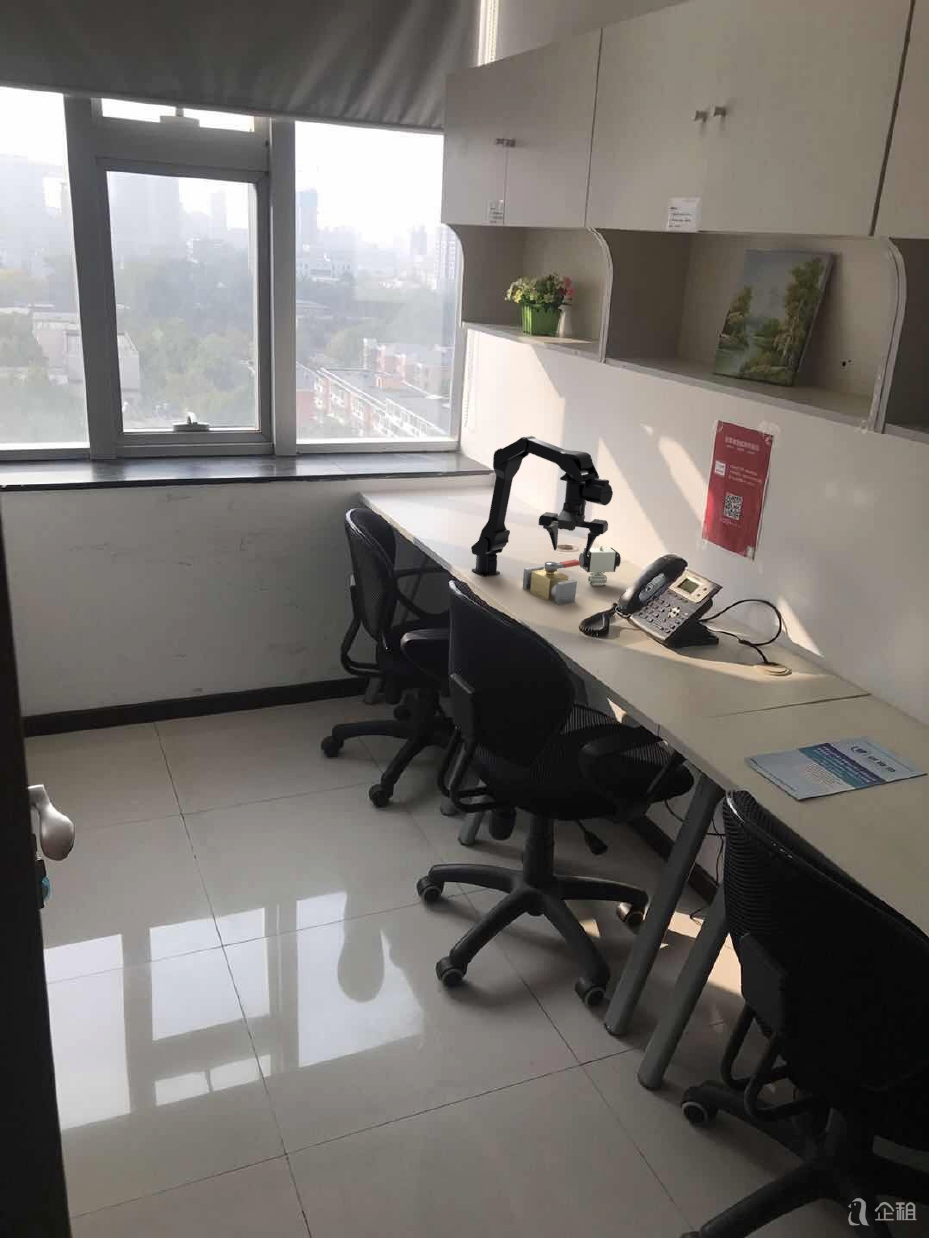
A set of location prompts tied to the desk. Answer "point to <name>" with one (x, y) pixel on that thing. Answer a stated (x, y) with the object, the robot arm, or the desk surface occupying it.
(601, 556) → the pneumatic valve
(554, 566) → the lever
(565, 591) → the valve pipe
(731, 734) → the desk surface
